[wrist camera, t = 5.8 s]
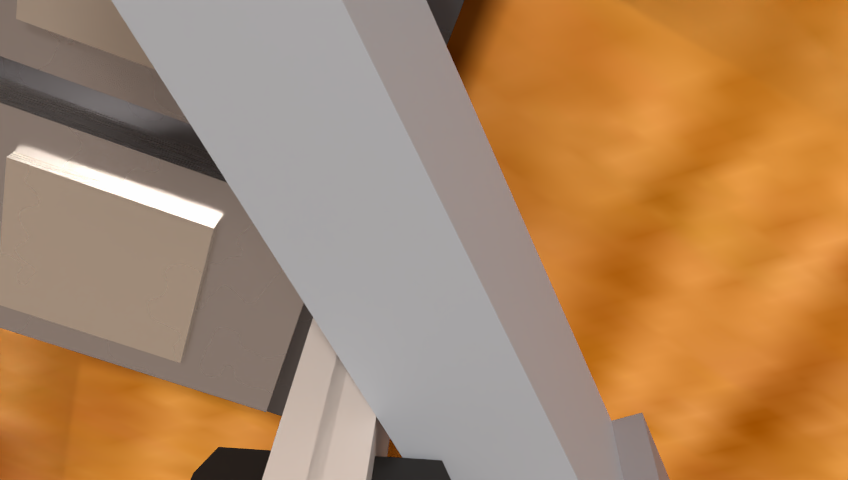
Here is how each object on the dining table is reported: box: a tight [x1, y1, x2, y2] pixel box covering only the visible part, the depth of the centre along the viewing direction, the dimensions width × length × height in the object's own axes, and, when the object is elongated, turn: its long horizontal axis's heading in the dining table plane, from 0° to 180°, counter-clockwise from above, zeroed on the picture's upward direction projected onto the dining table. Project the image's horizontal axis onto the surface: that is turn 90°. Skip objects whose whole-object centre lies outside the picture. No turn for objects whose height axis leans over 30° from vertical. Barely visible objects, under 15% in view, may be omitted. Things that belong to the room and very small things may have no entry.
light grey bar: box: [111, 0, 670, 480], centre depth 12 cm, size 17×4×5 cm, turn 25°
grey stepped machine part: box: [0, 0, 464, 416], centre depth 13 cm, size 10×18×12 cm, turn 160°
